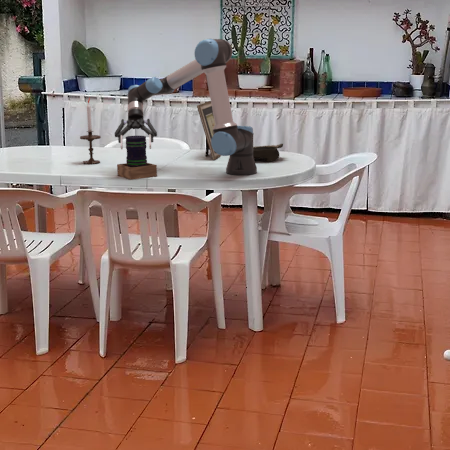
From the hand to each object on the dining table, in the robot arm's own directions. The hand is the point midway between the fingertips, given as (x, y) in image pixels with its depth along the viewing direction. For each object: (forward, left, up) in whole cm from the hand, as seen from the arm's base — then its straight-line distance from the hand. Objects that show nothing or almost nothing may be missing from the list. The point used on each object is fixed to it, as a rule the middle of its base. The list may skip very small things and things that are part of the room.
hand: (135, 147), depth 356 cm
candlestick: (+53, -1, -14) cm, 55 cm away
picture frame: (+33, -66, -14) cm, 75 cm away
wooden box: (+2, -1, -14) cm, 14 cm away
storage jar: (+2, -1, -10) cm, 11 cm away
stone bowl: (+5, -79, -15) cm, 81 cm away
